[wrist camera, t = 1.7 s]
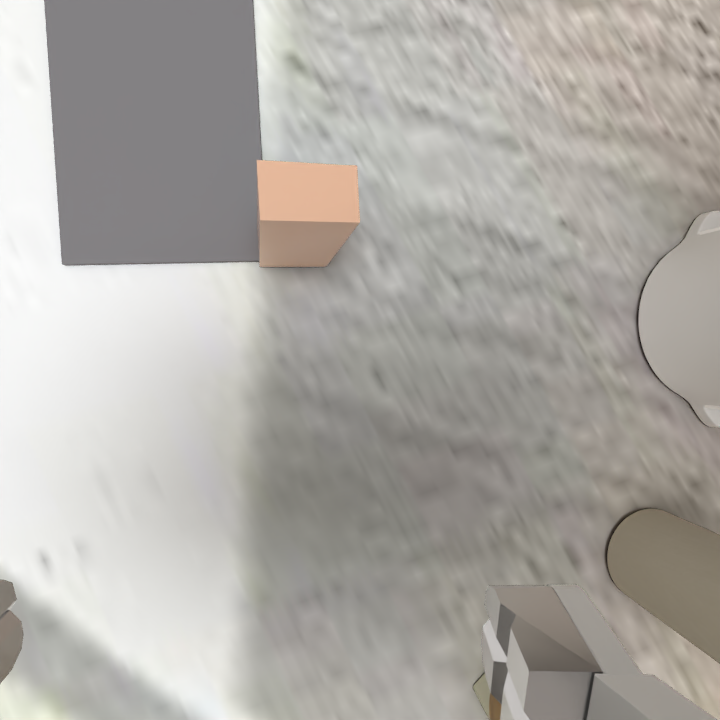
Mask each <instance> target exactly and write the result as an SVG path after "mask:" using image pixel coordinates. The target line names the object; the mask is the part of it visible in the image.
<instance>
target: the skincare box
mask: <svg viewBox="0 0 720 720" xmlns="http://www.w3.org/2000/svg"><path fill="white" fill-rule="evenodd" d="M473 689H474V691H475V693H476V695H477V697H478V699H479V701H480V703H481V705H482V707H483V709H484V711H485V713H486V715H487V717H488V719H489V720H500V716H501V706H502V705H501V704H500V703H499V702H498V701H497V700H496V699H495V698H494V697H493V695H492V694H491V693H490V690H489V687H488V683H487V680H486V676H485V673H484V674H483V676H482V677H481V678H480V679H479V680H478V681H477V682H476V683H475V684H474V686H473Z"/></svg>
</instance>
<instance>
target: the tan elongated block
mask: <svg viewBox="0 0 720 720" xmlns="http://www.w3.org/2000/svg"><path fill="white" fill-rule="evenodd" d="M359 223H360V216H359V196H358V176H357V166H354V165H339V164H322V163H304V162H286V161H269V160H257V231H258V249H259V267H326V266H327V265H328V264H329V262H330V261H331V260H332V259H333V257H334V256H335V255H336V253H337V252H338V251H339V249H340V248H341V247H342V245H343V244H344V243H345V241H346V240H347V239H348V237H349V236H350V235H351V234H352V232H353V231H354V230H355V228H356V227H357V226H358V224H359Z"/></svg>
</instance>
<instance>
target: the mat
mask: <svg viewBox="0 0 720 720" xmlns="http://www.w3.org/2000/svg"><path fill="white" fill-rule="evenodd" d="M44 2H45V17H46V32H47V47H48V62H49V77H50V92H51V107H52V122H53V137H54V152H55V167H56V182H57V196H58V211H59V226H60V241H61V256H62V264H63V265H108V264H160V263H211V262H259V249H258V231H257V160H262V154H261V136H260V118H259V100H258V83H257V65H256V47H255V29H254V11H253V0H44Z"/></svg>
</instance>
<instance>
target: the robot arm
mask: <svg viewBox="0 0 720 720" xmlns="http://www.w3.org/2000/svg"><path fill="white" fill-rule="evenodd" d="M639 334H640V339H641V344H642V347H643V350H644V353H645V356H646V358H647V360H648V362H649V364H650V366H651V368H652V369H653V371H654V372H655V374H656V375H657V376H658V377H659V379H660V380H661V381H662V382H663V383H664V384H665V385H666V386H667V387H669V388H670V389H671V390H672V391H674V392H675V393H677V394H679V395H680V396H682V397H683V398H684V399H686V400H687V401H688V402H689V403H690V404H691V406H692V408H693V409H694V411H695V413H696V414H697V416H698V417H699V418H700V420H701V421H702V422H703V423H704V424H705V425H707V426H709V427H719V428H720V211H711V212H706V213H702V214H700V215H699V216H698V217H697V218H696V219H695V220H694V222H693V224H692V225H691V227H690V229H689V231H688V233H687V235H686V237H685V239H684V240H683V241H682V242H681V243H680V244H679V245H678V246H677V247H675V248H674V249H673V250H672V251H670V252H669V253H668V254H667V255H666V256H665V257H664V258H663V259H662V260H661V261H660V262H659V263H658V264H657V265H656V267H655V268H654V270H653V271H652V273H651V275H650V276H649V278H648V280H647V282H646V285H645V287H644V290H643V293H642V297H641V301H640V307H639ZM16 600H17V598H16V594H15V591H14V587H13V583H12V582H9V581H6V580H2V579H0V683H1V682H2V681H3V680H4V679H5V677H6V676H7V675H8V674H9V672H10V671H11V670H12V668H13V666H14V664H15V662H16V660H17V657H18V655H19V653H20V651H21V649H22V641H23V628H22V623H21V621H20V620H19V619H18V618H17V617H16V616H15V615H14V614H13V613H12V612H11V611H10V609H11V608H12V606H13V605H14V603H15V601H16ZM484 605H485V608H486V610H487V613H488V616H489V620H488V621H487V622H486V623H485V624H484V625H483V626H482V639H481V647H482V660H483V666H484V671H485V676H486V680H487V683H488V687H489V690H490V693H491V694H492V695H493V697H494V698H495V699H496V700H497V701H498V702H499V703H500V704H501V705H502V706H501V716H500V720H717V719H716V718H714V717H713V716H711V715H710V714H709V713H707V712H706V711H704V710H703V709H702V708H700V707H699V706H697V705H696V704H694V703H693V702H692V701H690V700H689V699H687V698H686V697H684V696H683V695H682V694H680V693H679V692H677V691H676V690H674V689H673V688H672V687H670V686H669V685H667V684H666V683H664V682H663V681H662V680H660V679H659V678H657V677H656V676H655V675H648V674H642V672H641V671H640V669H639V668H638V666H637V665H636V664H635V662H634V661H633V659H632V658H631V656H630V655H629V654H628V652H627V651H626V649H625V648H624V646H623V645H622V644H621V642H620V641H619V639H618V638H617V636H616V635H615V634H614V632H613V631H612V629H611V628H610V626H609V625H608V623H607V622H606V621H605V619H604V618H603V616H602V615H601V613H600V612H599V611H598V609H597V608H596V606H595V605H594V603H593V602H592V601H591V599H590V598H589V596H588V595H587V593H586V592H585V591H584V589H583V588H581V587H580V586H578V585H577V584H573V585H547V586H545V585H489V586H488V588H487V591H486V596H485V604H484Z"/></svg>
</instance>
